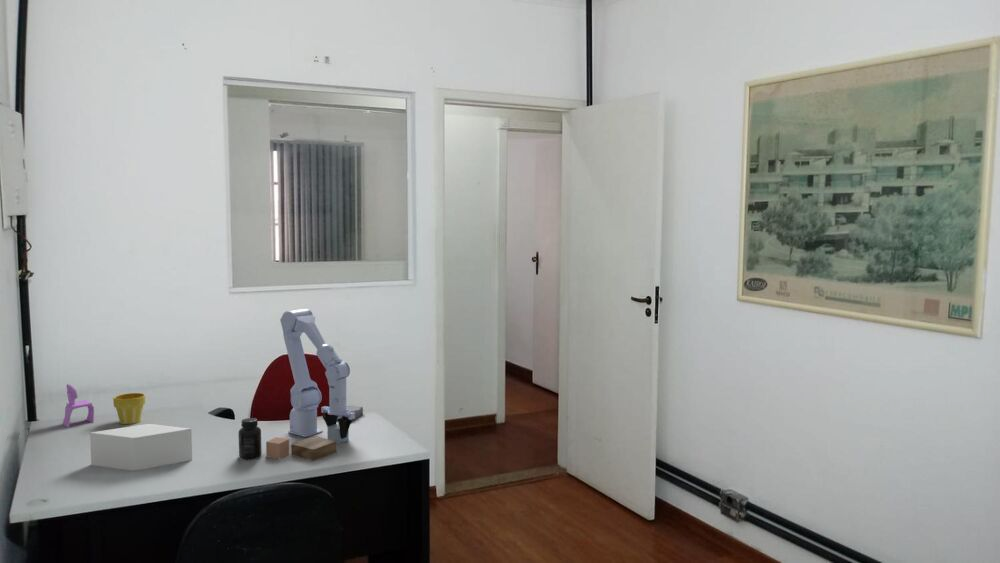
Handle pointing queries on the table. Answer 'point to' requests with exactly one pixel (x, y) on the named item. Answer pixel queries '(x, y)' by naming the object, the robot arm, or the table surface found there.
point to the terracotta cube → (277, 447)
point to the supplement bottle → (249, 439)
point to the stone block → (354, 411)
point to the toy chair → (76, 406)
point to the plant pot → (129, 407)
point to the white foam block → (141, 446)
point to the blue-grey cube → (336, 433)
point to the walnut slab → (313, 448)
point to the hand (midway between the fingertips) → (338, 436)
